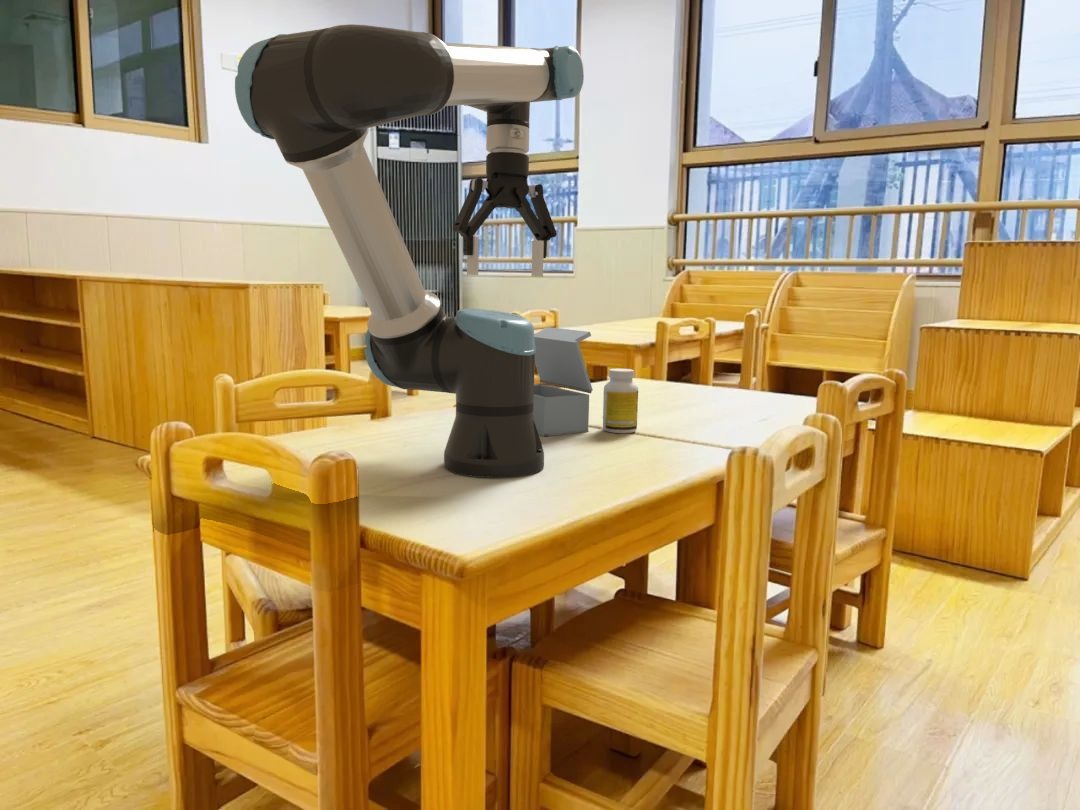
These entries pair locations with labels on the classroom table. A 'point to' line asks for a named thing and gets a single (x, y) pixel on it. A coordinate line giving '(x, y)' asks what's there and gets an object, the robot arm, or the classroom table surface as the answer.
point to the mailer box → (560, 411)
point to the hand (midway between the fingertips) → (505, 276)
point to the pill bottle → (620, 402)
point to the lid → (561, 358)
